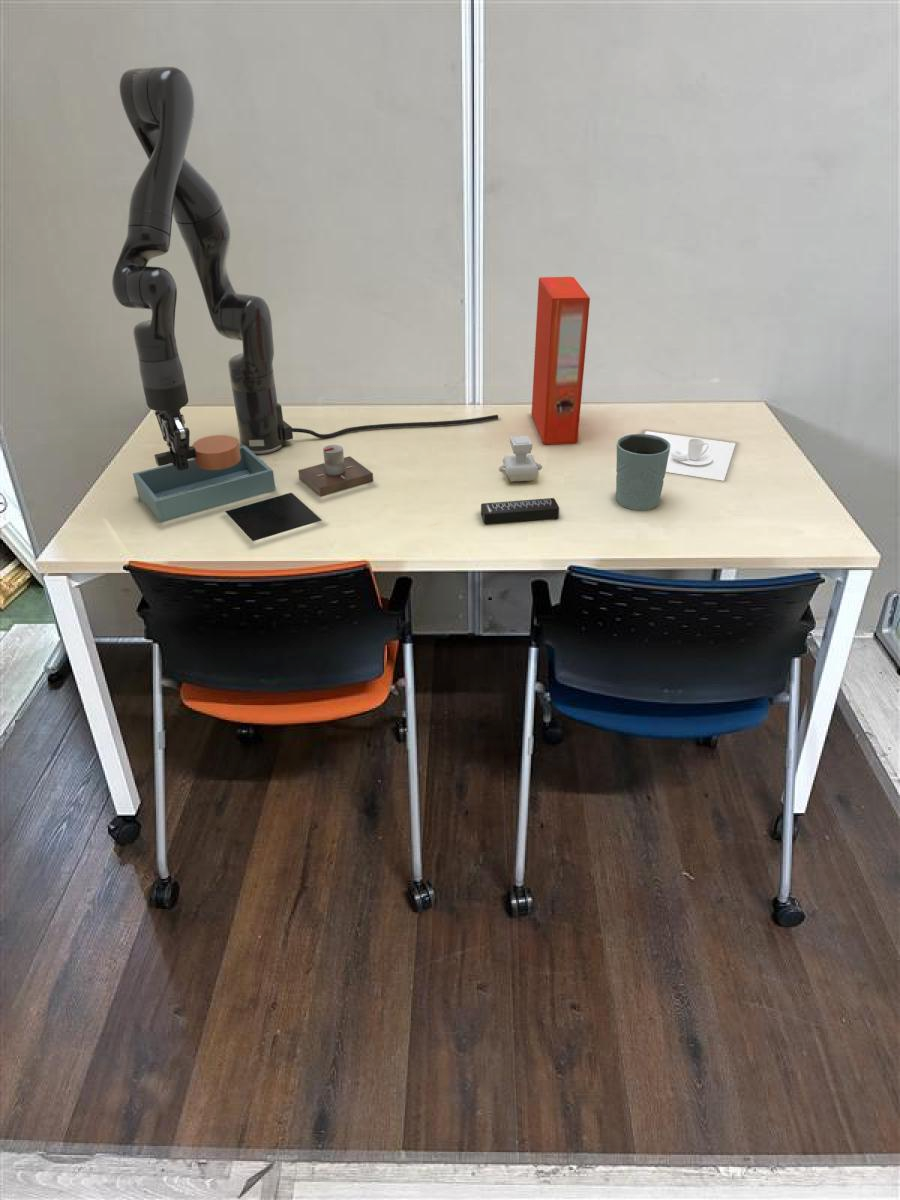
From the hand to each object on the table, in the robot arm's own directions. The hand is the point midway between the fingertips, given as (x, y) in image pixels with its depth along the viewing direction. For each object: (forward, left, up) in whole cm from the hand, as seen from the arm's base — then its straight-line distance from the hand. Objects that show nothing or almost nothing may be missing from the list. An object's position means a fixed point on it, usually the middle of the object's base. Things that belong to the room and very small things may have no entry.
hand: (180, 466), depth 167 cm
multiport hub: (-51, +42, -8) cm, 67 cm away
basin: (-4, 0, -8) cm, 9 cm away
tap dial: (-28, +10, -5) cm, 30 cm away
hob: (-11, +17, -8) cm, 22 cm away
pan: (-4, 0, -1) cm, 4 cm away
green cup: (-74, +50, -8) cm, 90 cm away
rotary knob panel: (-28, +10, -8) cm, 31 cm away
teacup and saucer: (-97, +40, -8) cm, 105 cm away
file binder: (-83, +13, -8) cm, 84 cm away
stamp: (-61, +29, -8) cm, 68 cm away
